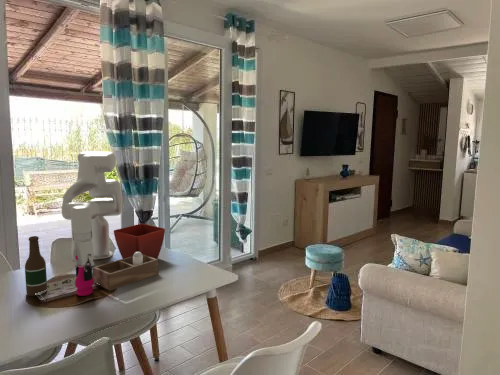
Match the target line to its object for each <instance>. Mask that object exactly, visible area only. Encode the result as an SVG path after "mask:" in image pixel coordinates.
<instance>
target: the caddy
mask: <svg viewBox="0 0 500 375" xmlns="http://www.w3.org/2000/svg"><path fill="white" fill-rule="evenodd" d="M142 255H143V254H142ZM92 269H93V270H92V277H93V279H94V282H95V283H98V284H100V285H101V286H100V287H102V288H104V289H106V290H108V291H113V290H116V289H118V288H121V287H125V286H128V285H131V284H134V283H135V282H138V281H142V280H145V279H149V278H150V277H153V276H156V275H159V259H158V258H157V259H155V258H152V257H149V256H146V255H143V263H142V264H139V265H136V266H134V265H133V256H131V257H128V258H124V259H123V258H121V259H118V260H115V261H111V262H108V263H107V262H106V263H103V264H100V265H96V266H94V267H93V268H92ZM95 283H94V284H95Z"/></svg>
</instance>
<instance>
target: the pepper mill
mask: <svg viewBox="0 0 500 375" xmlns="http://www.w3.org/2000/svg"><path fill="white" fill-rule="evenodd" d="M77 257H78V256H77V255H76V257H75V258H76V260H78V258H77ZM87 263H89V262H87ZM87 263H86V264H87ZM77 266H78V268H79V272H78V275H77V277H76V276H75V280H74V286H75V287H76V291H75V292H76V295H77V296H80V297H84V296H85V297H86V296H89V295H92V294H93V293H94V287H93V286H94V284H95V283H94V279H93V276H92V279H91V280H88V281H84V272H85V270H84V266H81V265H79V264H77ZM88 266H89V265H86V267H88Z"/></svg>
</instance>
